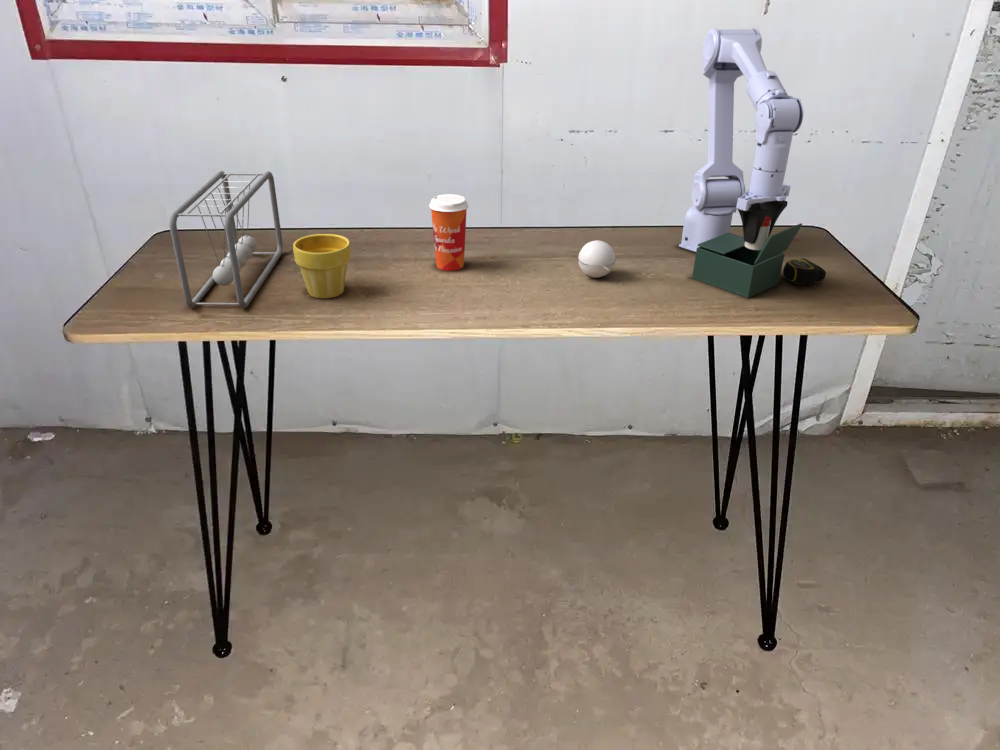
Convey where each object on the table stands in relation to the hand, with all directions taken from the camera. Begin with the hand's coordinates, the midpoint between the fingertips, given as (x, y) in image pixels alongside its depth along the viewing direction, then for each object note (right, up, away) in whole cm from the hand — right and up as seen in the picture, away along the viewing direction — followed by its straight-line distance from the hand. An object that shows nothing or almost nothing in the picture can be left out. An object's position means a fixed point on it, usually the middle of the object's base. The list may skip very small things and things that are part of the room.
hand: (756, 239), depth 147 cm
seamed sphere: (-29, -7, +7) cm, 31 cm away
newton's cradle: (-100, -7, +5) cm, 100 cm away
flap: (+3, -1, -3) cm, 4 cm away
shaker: (0, -1, +1) cm, 1 cm away
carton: (-2, -7, +7) cm, 10 cm away
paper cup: (-59, -4, +12) cm, 60 cm away
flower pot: (-82, -10, 0) cm, 82 cm away
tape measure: (+12, -7, +8) cm, 15 cm away
